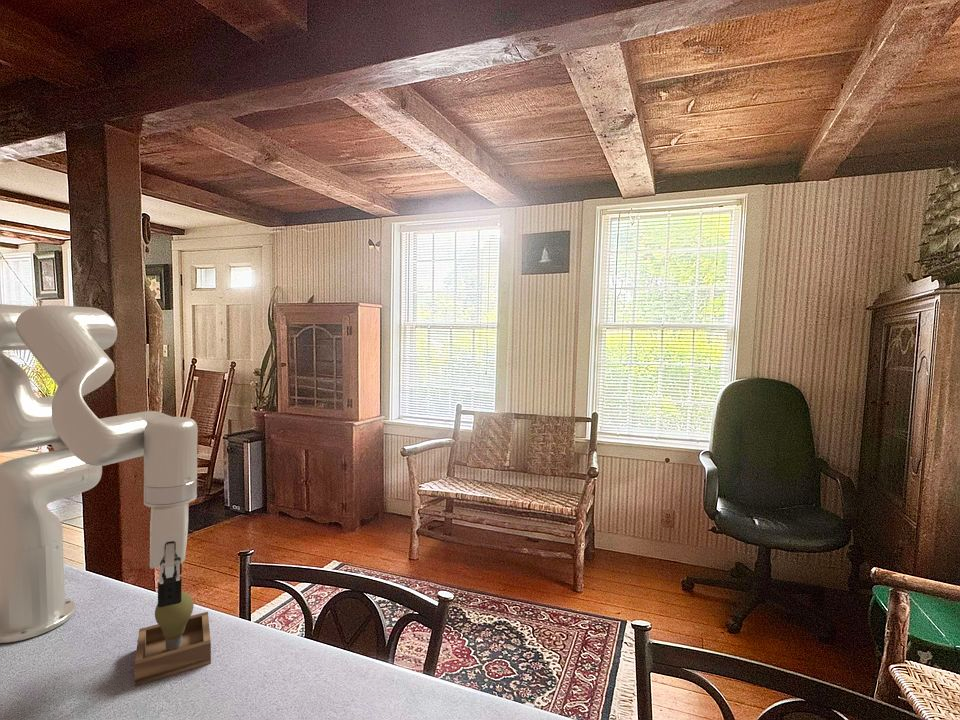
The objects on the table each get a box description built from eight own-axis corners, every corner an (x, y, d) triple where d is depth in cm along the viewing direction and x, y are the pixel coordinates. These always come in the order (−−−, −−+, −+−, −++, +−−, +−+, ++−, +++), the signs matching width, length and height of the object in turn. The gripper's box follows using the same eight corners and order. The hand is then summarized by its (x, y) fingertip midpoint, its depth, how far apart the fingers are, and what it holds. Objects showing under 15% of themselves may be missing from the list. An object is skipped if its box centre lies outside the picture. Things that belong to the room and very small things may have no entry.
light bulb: (174, 663, 79) (175, 603, 78) (145, 657, 80) (146, 598, 79) (200, 642, 84) (201, 586, 84) (173, 637, 85) (174, 582, 85)
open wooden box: (139, 648, 84) (139, 628, 83) (208, 629, 89) (207, 611, 89) (134, 686, 75) (134, 664, 75) (210, 663, 80) (210, 642, 80)
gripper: (147, 479, 86) (146, 571, 87) (139, 513, 71) (139, 623, 72) (195, 474, 90) (194, 562, 91) (198, 505, 75) (197, 610, 76)
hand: (170, 589), depth 81 cm, fingers open, 9 cm apart
